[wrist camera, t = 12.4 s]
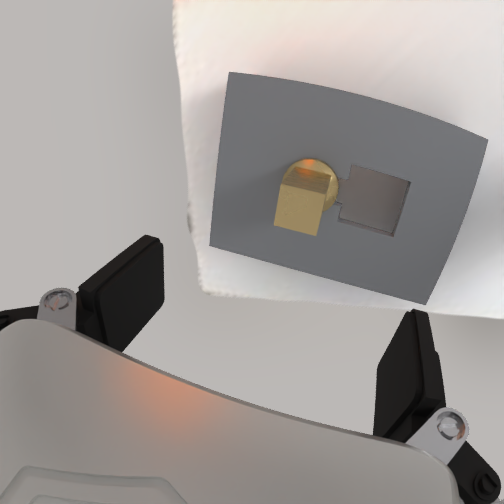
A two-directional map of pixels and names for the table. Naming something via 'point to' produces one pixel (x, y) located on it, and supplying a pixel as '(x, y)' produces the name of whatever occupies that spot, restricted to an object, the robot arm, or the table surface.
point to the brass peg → (306, 195)
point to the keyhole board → (340, 159)
